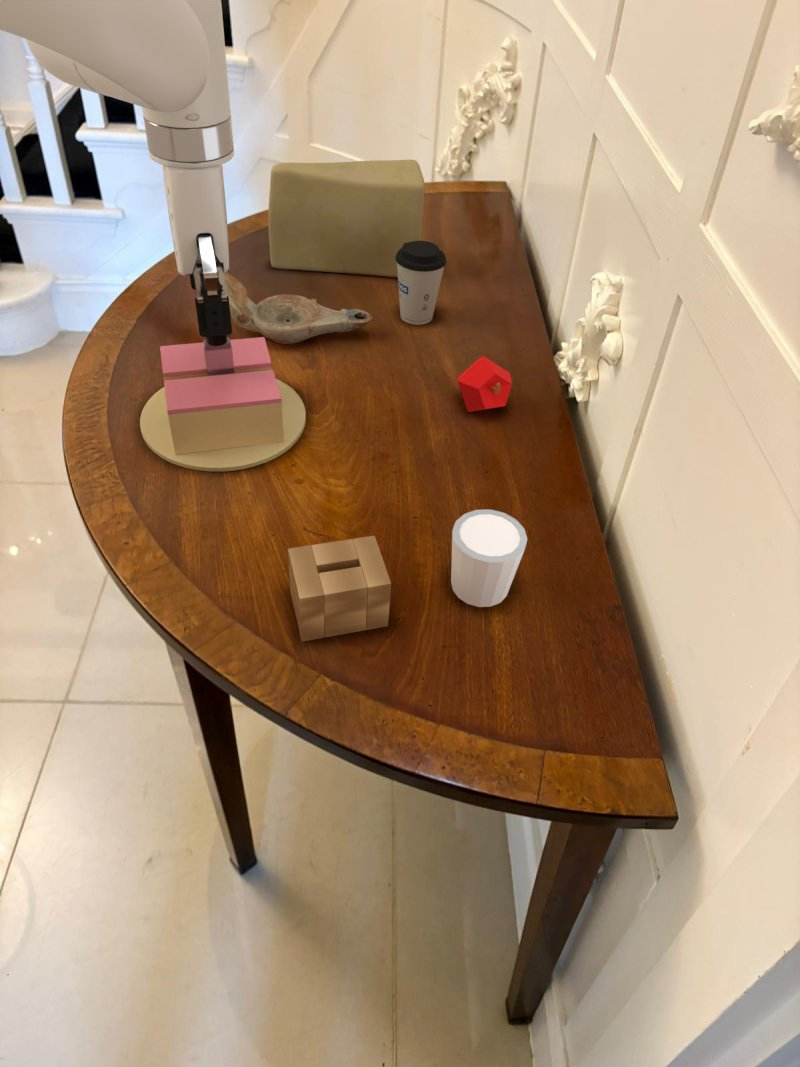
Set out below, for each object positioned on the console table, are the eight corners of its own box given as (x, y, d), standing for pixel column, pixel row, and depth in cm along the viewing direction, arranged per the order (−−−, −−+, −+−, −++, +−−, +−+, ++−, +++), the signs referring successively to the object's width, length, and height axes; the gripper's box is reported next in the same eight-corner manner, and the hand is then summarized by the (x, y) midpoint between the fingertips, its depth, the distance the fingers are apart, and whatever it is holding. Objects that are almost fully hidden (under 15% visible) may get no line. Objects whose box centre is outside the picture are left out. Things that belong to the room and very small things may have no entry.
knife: (213, 421, 91) (194, 277, 78) (211, 410, 92) (192, 267, 80) (239, 418, 92) (224, 275, 79) (237, 407, 93) (222, 265, 80)
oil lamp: (215, 316, 108) (207, 247, 101) (370, 319, 110) (373, 251, 103) (209, 351, 102) (199, 279, 95) (373, 353, 104) (375, 283, 97)
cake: (144, 482, 84) (133, 433, 79) (137, 381, 96) (127, 334, 92) (320, 460, 88) (319, 412, 83) (291, 366, 101) (289, 320, 96)
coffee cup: (442, 306, 114) (449, 239, 107) (439, 331, 109) (446, 263, 102) (394, 301, 114) (398, 234, 107) (389, 326, 109) (393, 257, 102)
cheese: (270, 282, 116) (264, 178, 105) (271, 252, 123) (265, 151, 112) (418, 282, 119) (427, 181, 108) (411, 253, 125) (418, 154, 115)
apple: (449, 348, 96) (476, 361, 89) (499, 352, 98) (528, 365, 91) (441, 403, 99) (466, 420, 92) (489, 406, 101) (517, 423, 94)
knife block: (301, 642, 70) (299, 598, 66) (290, 592, 74) (287, 548, 70) (388, 626, 72) (391, 583, 68) (372, 578, 76) (374, 535, 72)
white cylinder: (515, 563, 79) (527, 512, 74) (515, 616, 74) (528, 565, 69) (446, 555, 79) (454, 504, 74) (442, 607, 74) (450, 556, 69)
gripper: (142, 105, 75) (168, 273, 87) (151, 176, 64) (180, 358, 76) (222, 104, 77) (237, 269, 89) (245, 172, 65) (258, 351, 77)
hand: (211, 310), depth 82 cm, fingers open, 9 cm apart
